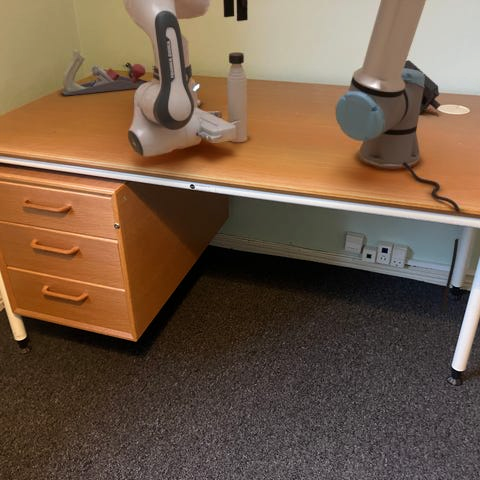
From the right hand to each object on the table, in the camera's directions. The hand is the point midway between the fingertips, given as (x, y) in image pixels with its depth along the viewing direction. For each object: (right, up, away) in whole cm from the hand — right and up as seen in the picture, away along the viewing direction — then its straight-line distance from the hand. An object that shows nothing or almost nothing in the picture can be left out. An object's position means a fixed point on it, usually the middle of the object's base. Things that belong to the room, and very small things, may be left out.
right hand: (235, 18), depth 136 cm
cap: (0, -8, +5) cm, 9 cm away
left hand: (-2, -23, +13) cm, 26 cm away
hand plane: (-49, -1, +62) cm, 79 cm away
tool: (+55, -14, +37) cm, 68 cm away
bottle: (+1, -28, +17) cm, 33 cm away
